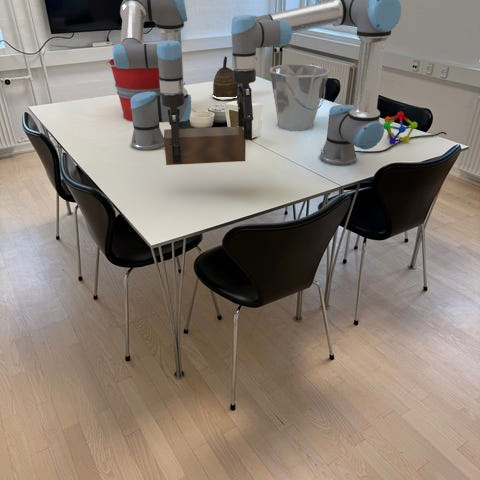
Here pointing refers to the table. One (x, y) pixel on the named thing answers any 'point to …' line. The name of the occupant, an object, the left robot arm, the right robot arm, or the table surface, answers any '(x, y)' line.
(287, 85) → the bucket
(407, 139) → the educational toy
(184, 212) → the table surface
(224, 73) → the bell
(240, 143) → the box
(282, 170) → the table surface
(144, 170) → the table surface
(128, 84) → the bucket
